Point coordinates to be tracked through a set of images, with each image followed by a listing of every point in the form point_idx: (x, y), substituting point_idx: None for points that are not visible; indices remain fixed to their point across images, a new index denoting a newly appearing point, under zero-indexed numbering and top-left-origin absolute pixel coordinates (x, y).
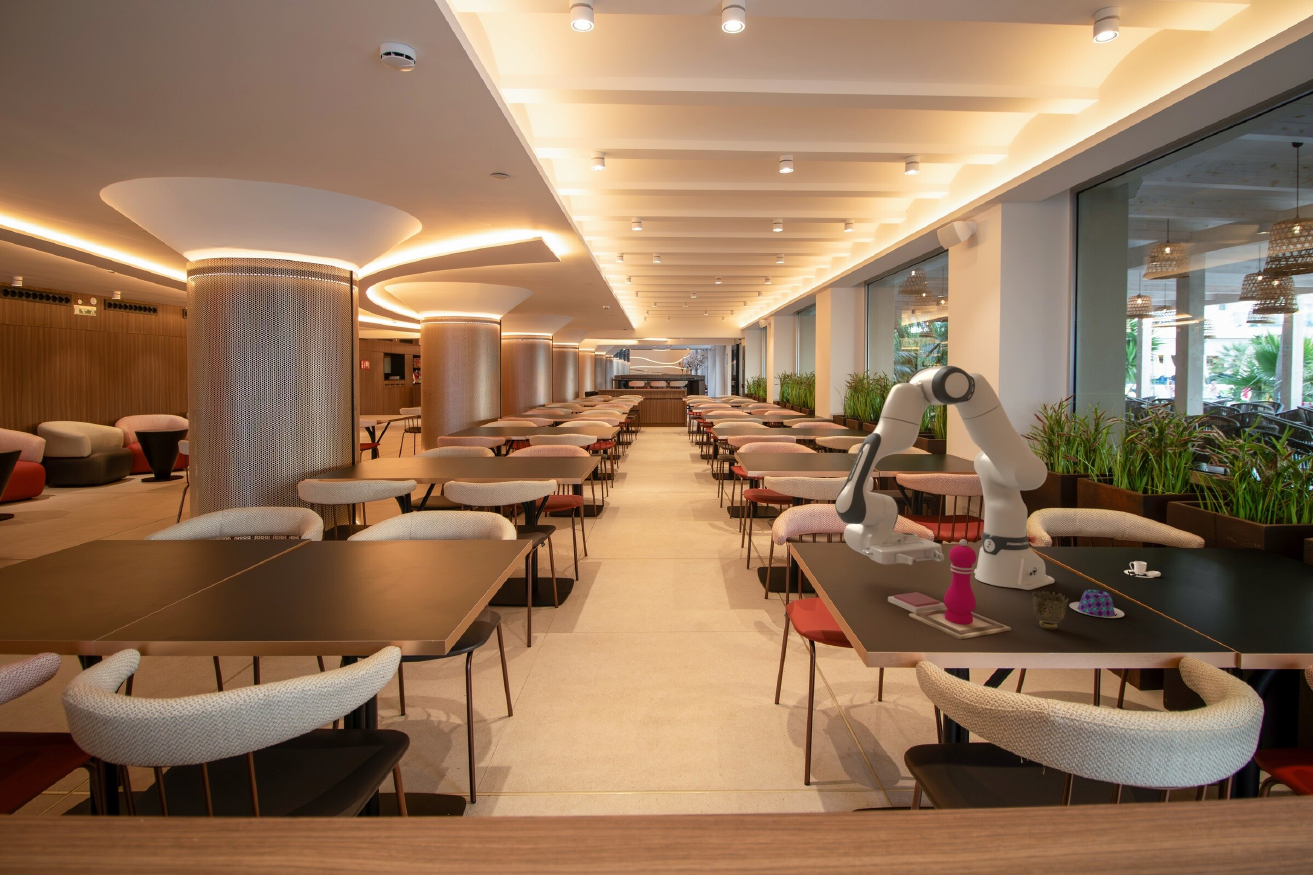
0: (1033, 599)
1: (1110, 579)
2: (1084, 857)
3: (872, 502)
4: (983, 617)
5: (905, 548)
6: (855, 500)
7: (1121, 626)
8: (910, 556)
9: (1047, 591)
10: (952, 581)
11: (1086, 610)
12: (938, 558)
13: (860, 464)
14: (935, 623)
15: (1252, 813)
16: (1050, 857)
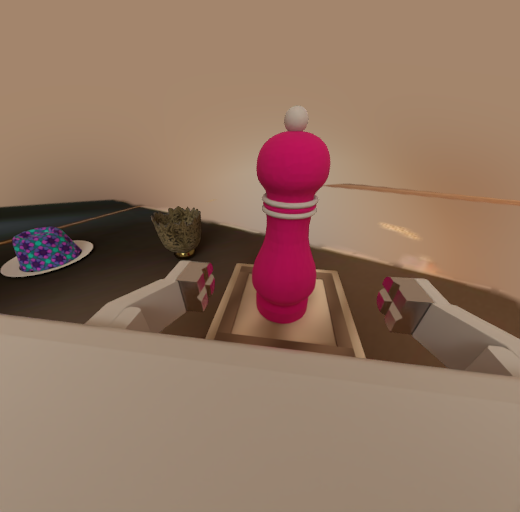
0: (189, 227)
1: None
2: (420, 191)
3: None
4: (227, 294)
5: (432, 397)
6: None
7: (117, 236)
8: (414, 297)
9: (152, 219)
10: (306, 240)
11: (67, 257)
12: (209, 281)
13: None
14: (341, 310)
15: (337, 187)
16: (433, 192)
